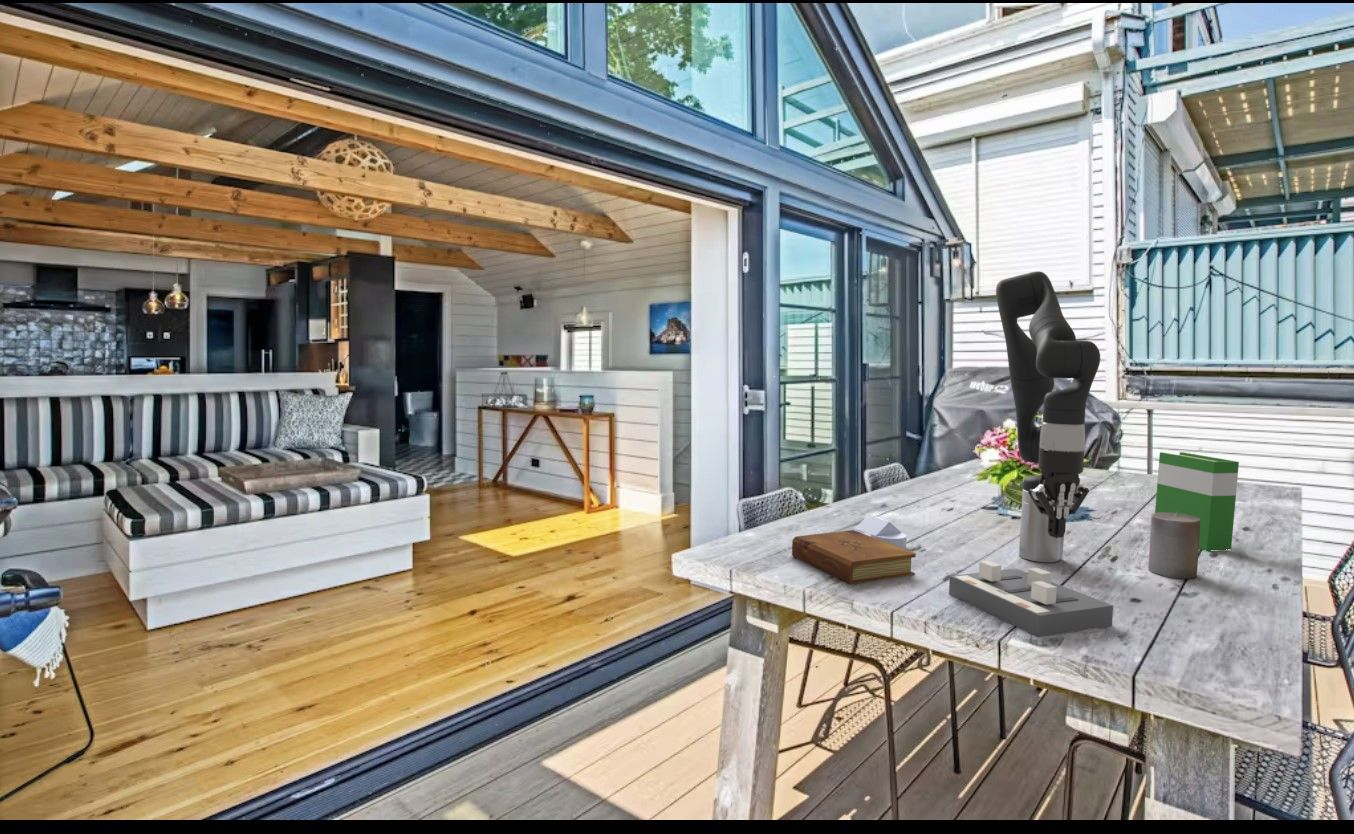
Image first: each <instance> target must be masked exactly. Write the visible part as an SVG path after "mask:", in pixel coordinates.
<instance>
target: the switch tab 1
mask: <svg viewBox="0 0 1354 834" xmlns="http://www.w3.org/2000/svg"><path fill="white" fill-rule="evenodd" d="M978 563H979V564H978V573H979V577H981V578H984V579H986V580H989V581H991V582H992V581H1000V580H1001V570H1002V565H1001V564H998V563H995V562H993V561H990V560H982V561H979V562H978Z"/></svg>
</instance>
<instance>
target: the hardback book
mask: <svg viewBox="0 0 1354 834" xmlns="http://www.w3.org/2000/svg"><path fill="white" fill-rule="evenodd" d="M1158 456H1159V457H1158V458H1159V459H1158V467H1157V469H1158V470H1157V471H1158V473H1157V483H1156V484H1157V485H1156V497H1155V505H1154V506H1155V510H1154V513H1162V512H1164V513H1176V512H1177V511H1178V512H1177V513H1178V514H1185V515H1190V516H1194V517H1197V518H1199V519H1200V538H1199V550H1200V549H1202V550H1201V551H1203V550H1206V551H1205V552H1207V551H1208V552H1212V551H1211V550H1226V549H1227V550H1228V549H1231V550H1232V545H1233V544H1232V543H1233V532H1234V522H1235V521H1234V520H1235V510H1236V500H1237V499H1236V498H1237V488H1238V475H1239V467H1240V465H1239V464H1240V461H1236V460H1230V459H1225V458H1218V457H1214V456H1213V457H1212V456H1206V455H1201V454H1195V453H1189V452H1182V451H1181V452H1179V454H1174V453H1168V452H1162V451H1160V452H1159V455H1158Z"/></svg>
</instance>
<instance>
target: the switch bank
mask: <svg viewBox="0 0 1354 834" xmlns="http://www.w3.org/2000/svg"><path fill="white" fill-rule="evenodd" d="M1027 578H1028V571H1027V572H1026V571H1024V570H1021V569H1018V568H1011V569H1001V580H1000V581H992V582H991V581H989V580H986V579H984V578H981V577H979V572H972V573H965V574H956V575H955V574H954V575H949V585H948V594H949V596H952V597H954V598H955V599H956V598H957V599H958V600H960V599H961V600H960V601H962V600H963V602H965V603H967V604H969V605H971V606H973V607H975V606H976V607H975V608H977V609H979V608H980V609H979V610H982V611H984V612H986V613H987V614H990V615H992V616H994V617H996V618H998V619H1001V620H1002V621H1005V622H1007V623H1008V624H1010V625H1012V626H1015V627H1018V628H1019V629H1021V630H1023V631H1024V632H1025V631H1026V632H1028V633H1029V634H1032V635H1033V636H1035V637H1039V638H1040V637H1046V636H1053V635H1059V634H1067V633H1073V632H1080V631H1086V630H1092V629H1100V628H1106V627H1112V626H1113V618H1114V617H1113V616H1114V605H1113V604H1111V603H1108V602H1105V601H1102V600H1100V599H1098V598H1095V597H1092V596H1090V595H1087V594H1085V593H1083V592H1080V591H1076V590H1073V589H1071V588H1069V587H1066V586H1063V585H1061V584H1058V583H1055V582H1053V581H1051V585H1053V586H1056V587H1057V591H1056V603H1054V604H1043V603H1041V602H1039V601H1036V600H1034V599H1031V587H1032V586H1031V585H1028V584H1027Z"/></svg>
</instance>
